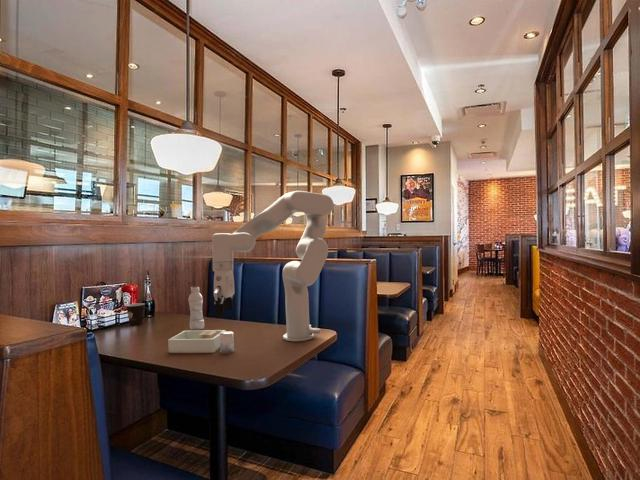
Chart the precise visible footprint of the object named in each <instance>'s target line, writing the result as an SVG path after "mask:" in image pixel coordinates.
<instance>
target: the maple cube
mask: <svg viewBox="0 0 640 480" xmlns="http://www.w3.org/2000/svg"><path fill="white" fill-rule="evenodd" d="M215 336H217V331H206V332H203V333H201V334H200V335H199V339H212V338H214V337H215Z"/></svg>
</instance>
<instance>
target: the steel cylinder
mask: <svg viewBox="0 0 640 480" xmlns="http://www.w3.org/2000/svg"><path fill="white" fill-rule="evenodd" d="M234 340H235V339H234V331H231V330H229V331H227V330H226V332H221V333H220V348H219V349H220V350H219V351H220V352H219V353H220V354H223V355H225V354H226V355H227V354H232V353H234V352H235V341H234Z"/></svg>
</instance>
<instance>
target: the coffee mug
mask: <svg viewBox="0 0 640 480" xmlns="http://www.w3.org/2000/svg"><path fill="white" fill-rule="evenodd" d="M145 310H146V314H145ZM126 311H127V316H128V321H129V322H128V323H129V326H130V325H131V326H133V327H136V326H141V324H142V325H143V324H144V323H145V318H146V317H147V316H148V314H149V308H147V307H146V304H145V303H143V302H137V303H129V304H126Z"/></svg>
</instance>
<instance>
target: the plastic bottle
mask: <svg viewBox="0 0 640 480" xmlns="http://www.w3.org/2000/svg"><path fill="white" fill-rule="evenodd" d="M190 292H191V293H190V294H189V296H188V299H187V301H188V305H189V311H190V312H189V313H190V314H189V316H190V317H189V325H188V326H189V329H190V331H193V330H203V329H204V328H205V319H204V315H203V304H204V303H203V302H204V297H203V295H202V294H201V292H200V286H191V287H190Z"/></svg>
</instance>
